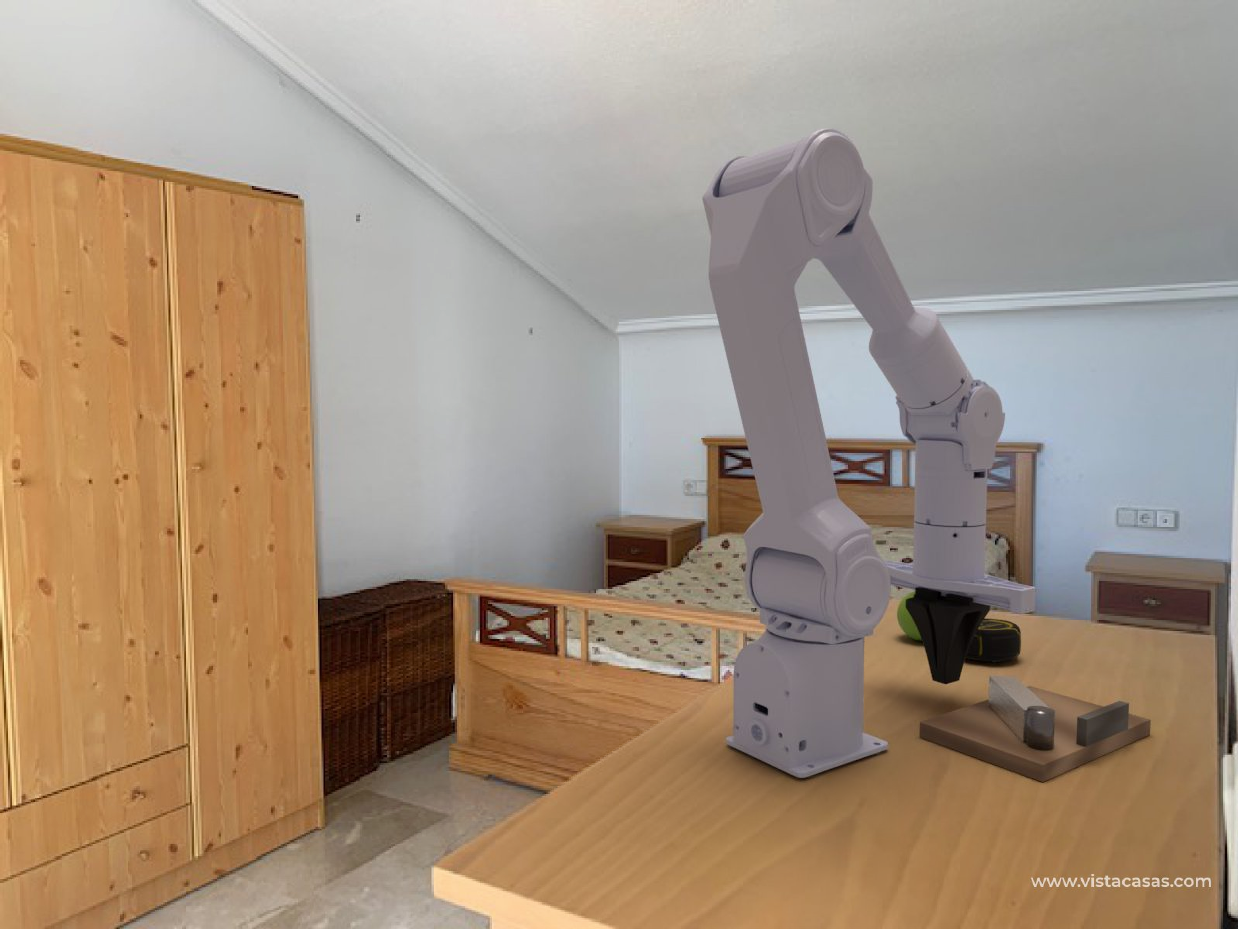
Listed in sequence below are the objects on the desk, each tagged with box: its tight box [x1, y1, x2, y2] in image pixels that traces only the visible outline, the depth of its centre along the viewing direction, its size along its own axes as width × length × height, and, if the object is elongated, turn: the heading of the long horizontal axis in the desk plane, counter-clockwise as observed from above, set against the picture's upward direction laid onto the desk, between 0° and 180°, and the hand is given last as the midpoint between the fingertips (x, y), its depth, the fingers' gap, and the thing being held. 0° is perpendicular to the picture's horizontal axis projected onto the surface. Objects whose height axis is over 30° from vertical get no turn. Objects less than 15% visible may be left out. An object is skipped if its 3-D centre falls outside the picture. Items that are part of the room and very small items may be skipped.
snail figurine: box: [896, 590, 922, 642], centre depth 97 cm, size 5×6×12 cm
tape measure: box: [965, 617, 1022, 663], centre depth 91 cm, size 7×7×4 cm
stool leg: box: [988, 675, 1055, 750], centre depth 68 cm, size 9×2×3 cm, turn 175°
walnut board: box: [919, 685, 1152, 783], centre depth 70 cm, size 15×10×3 cm, turn 125°
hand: (945, 680), depth 77 cm, fingers closed
